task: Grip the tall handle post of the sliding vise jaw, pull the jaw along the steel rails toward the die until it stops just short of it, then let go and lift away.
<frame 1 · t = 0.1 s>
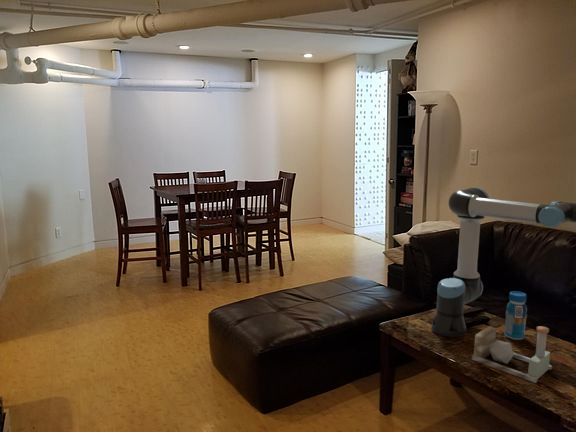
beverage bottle: (514, 336, 210), on the table
vise jaw: (540, 351, 176), point 9 cm above the table, slide at 0.0 cm
vise bed: (511, 364, 185), on the table
die: (501, 361, 188), on the table
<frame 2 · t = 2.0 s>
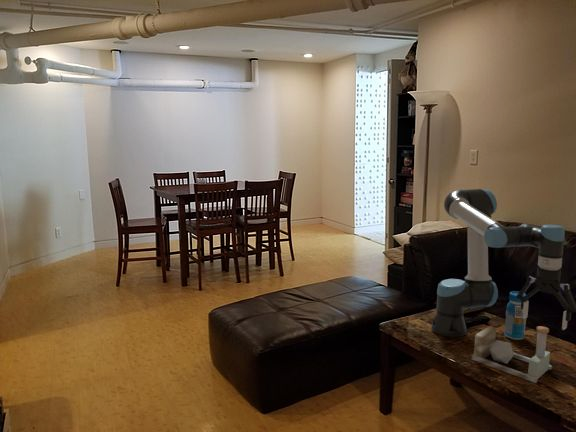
hand: (544, 323, 174), 21 cm above the table, tool pointing down, fingers open, 13 cm apart
nothing on the table moved.
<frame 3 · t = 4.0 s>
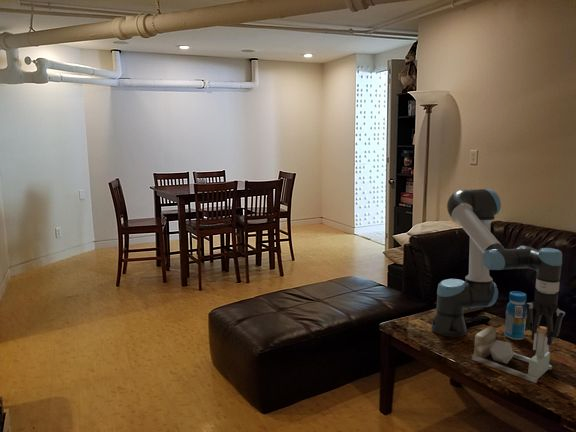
hand: (540, 350, 176), 10 cm above the table, tool pointing down, fingers closed on vise jaw, 3 cm apart
vise jaw: (540, 351, 176), point 9 cm above the table, slide at 0.0 cm, touching gripper
everything else where it was.
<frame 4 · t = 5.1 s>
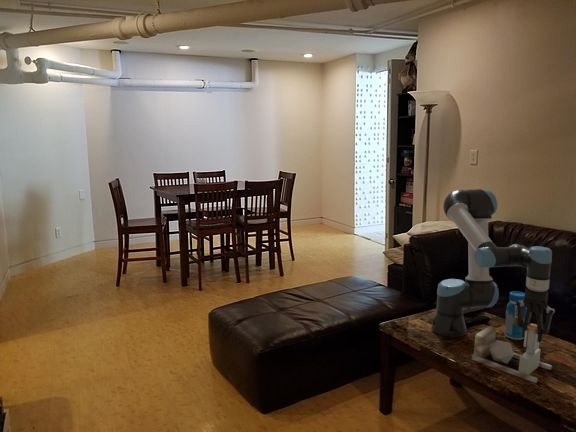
hand: (531, 347, 178), 10 cm above the table, tool pointing down, fingers closed on vise jaw, 3 cm apart
vise jaw: (531, 347, 178), point 9 cm above the table, slide at 3.4 cm, touching gripper
everything else where it was.
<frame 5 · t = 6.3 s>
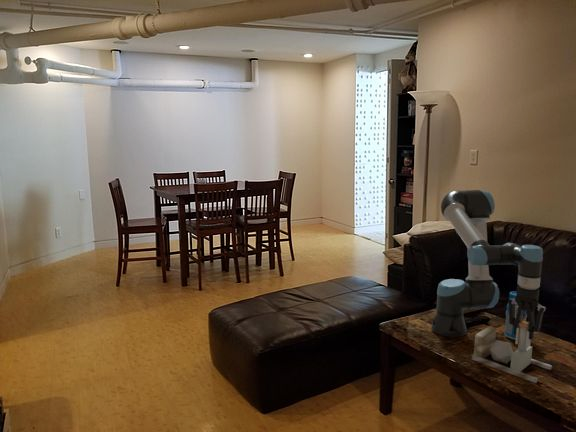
hand: (522, 344, 181), 10 cm above the table, tool pointing down, fingers closed on vise jaw, 3 cm apart
vise jaw: (522, 345, 181), point 9 cm above the table, slide at 6.5 cm, touching gripper
everything else where it was.
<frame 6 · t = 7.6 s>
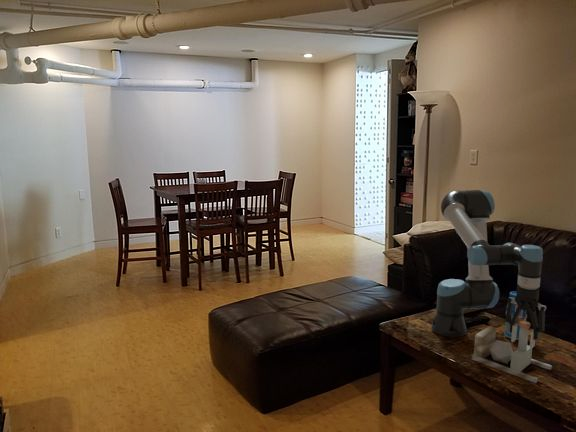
hand: (522, 343, 180), 10 cm above the table, tool pointing down, fingers open, 6 cm apart
vise jaw: (522, 345, 181), point 9 cm above the table, slide at 6.5 cm
everything else where it was.
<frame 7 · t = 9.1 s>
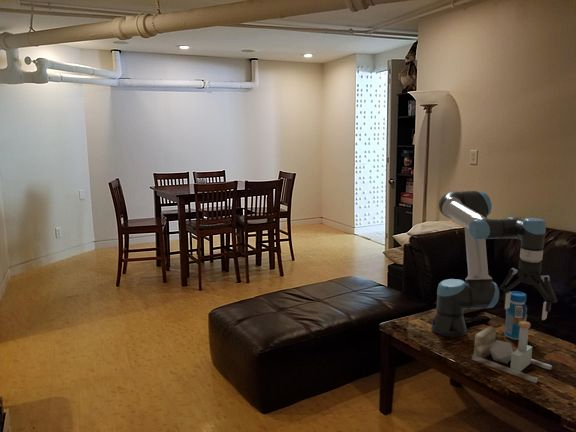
hand: (525, 313, 179), 22 cm above the table, tool pointing down, fingers open, 13 cm apart
nothing on the table moved.
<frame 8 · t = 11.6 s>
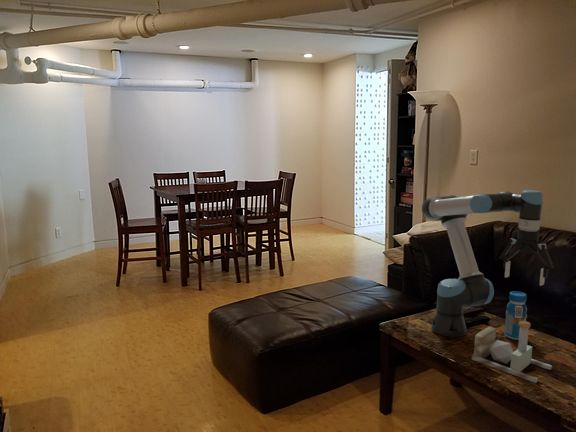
hand: (523, 280, 190), 31 cm above the table, tool pointing down, fingers open, 13 cm apart
nothing on the table moved.
at the end: vise jaw slide at 6.5 cm; die moved 0.2 cm from its start; die tilted 0° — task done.
